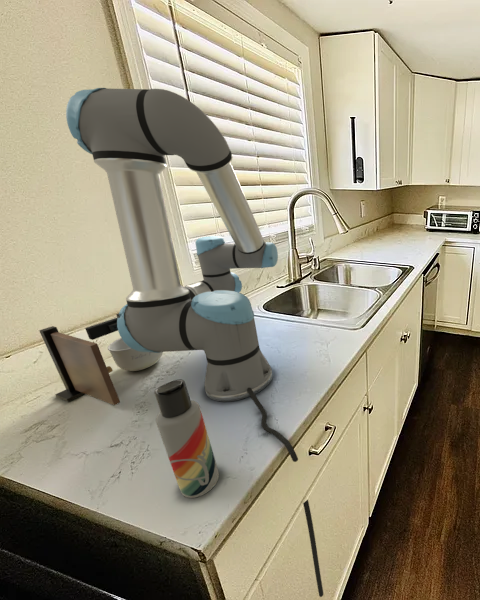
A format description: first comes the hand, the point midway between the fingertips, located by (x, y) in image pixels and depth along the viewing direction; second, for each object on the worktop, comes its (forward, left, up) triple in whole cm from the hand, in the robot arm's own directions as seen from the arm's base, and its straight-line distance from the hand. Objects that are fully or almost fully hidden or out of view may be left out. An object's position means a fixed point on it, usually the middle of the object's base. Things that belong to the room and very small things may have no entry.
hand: (88, 334), depth 72 cm
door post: (+7, +6, -16) cm, 18 cm away
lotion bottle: (-43, -5, -16) cm, 46 cm away
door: (-1, +2, -15) cm, 15 cm away
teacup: (+11, -9, -12) cm, 18 cm away
